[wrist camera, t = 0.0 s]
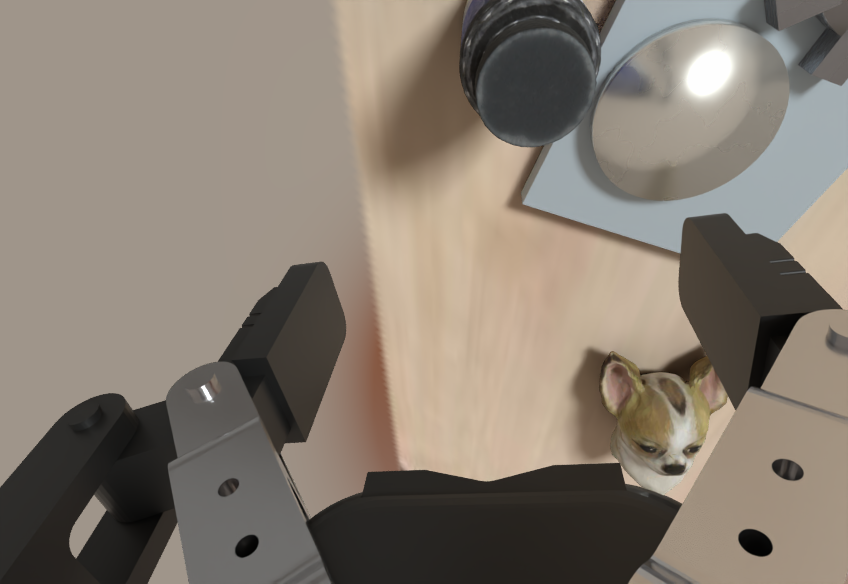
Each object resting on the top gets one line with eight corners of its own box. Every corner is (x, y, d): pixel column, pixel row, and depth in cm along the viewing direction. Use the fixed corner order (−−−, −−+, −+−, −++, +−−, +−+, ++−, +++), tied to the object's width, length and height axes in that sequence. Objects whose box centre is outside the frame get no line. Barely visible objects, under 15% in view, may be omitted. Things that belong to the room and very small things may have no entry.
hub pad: (652, -11, 26) (658, -5, 25) (824, 55, 27) (835, 63, 26) (560, 163, 32) (562, 172, 32) (702, 209, 34) (708, 219, 33)
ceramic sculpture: (600, 517, 47) (617, 409, 38) (585, 437, 54) (595, 329, 45) (727, 518, 45) (775, 406, 36) (694, 436, 52) (728, 324, 43)
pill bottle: (498, 94, 31) (504, 188, 23) (441, 1, 28) (424, 72, 20) (595, 33, 29) (641, 114, 21) (544, -78, 26) (574, -34, 17)
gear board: (776, -324, 20) (793, -334, 19) (1121, -156, 22) (1155, -155, 21) (521, 192, 36) (522, 204, 35) (738, 260, 38) (746, 274, 37)
